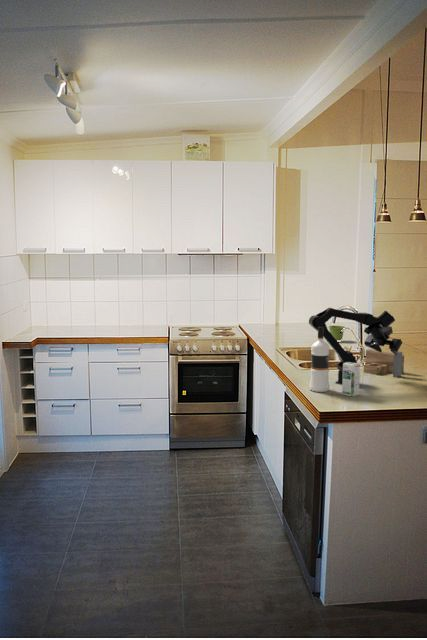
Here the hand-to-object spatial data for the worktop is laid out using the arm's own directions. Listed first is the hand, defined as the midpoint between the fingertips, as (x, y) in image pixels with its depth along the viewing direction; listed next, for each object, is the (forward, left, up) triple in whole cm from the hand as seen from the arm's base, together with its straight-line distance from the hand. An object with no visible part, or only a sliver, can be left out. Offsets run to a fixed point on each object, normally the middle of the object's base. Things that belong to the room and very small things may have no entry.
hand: (389, 353), depth 274 cm
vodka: (-45, +7, -14) cm, 48 cm away
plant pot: (+70, +89, -14) cm, 114 cm away
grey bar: (+8, 0, -13) cm, 16 cm away
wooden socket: (+10, +13, -13) cm, 21 cm away
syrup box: (-40, -7, -14) cm, 43 cm away
